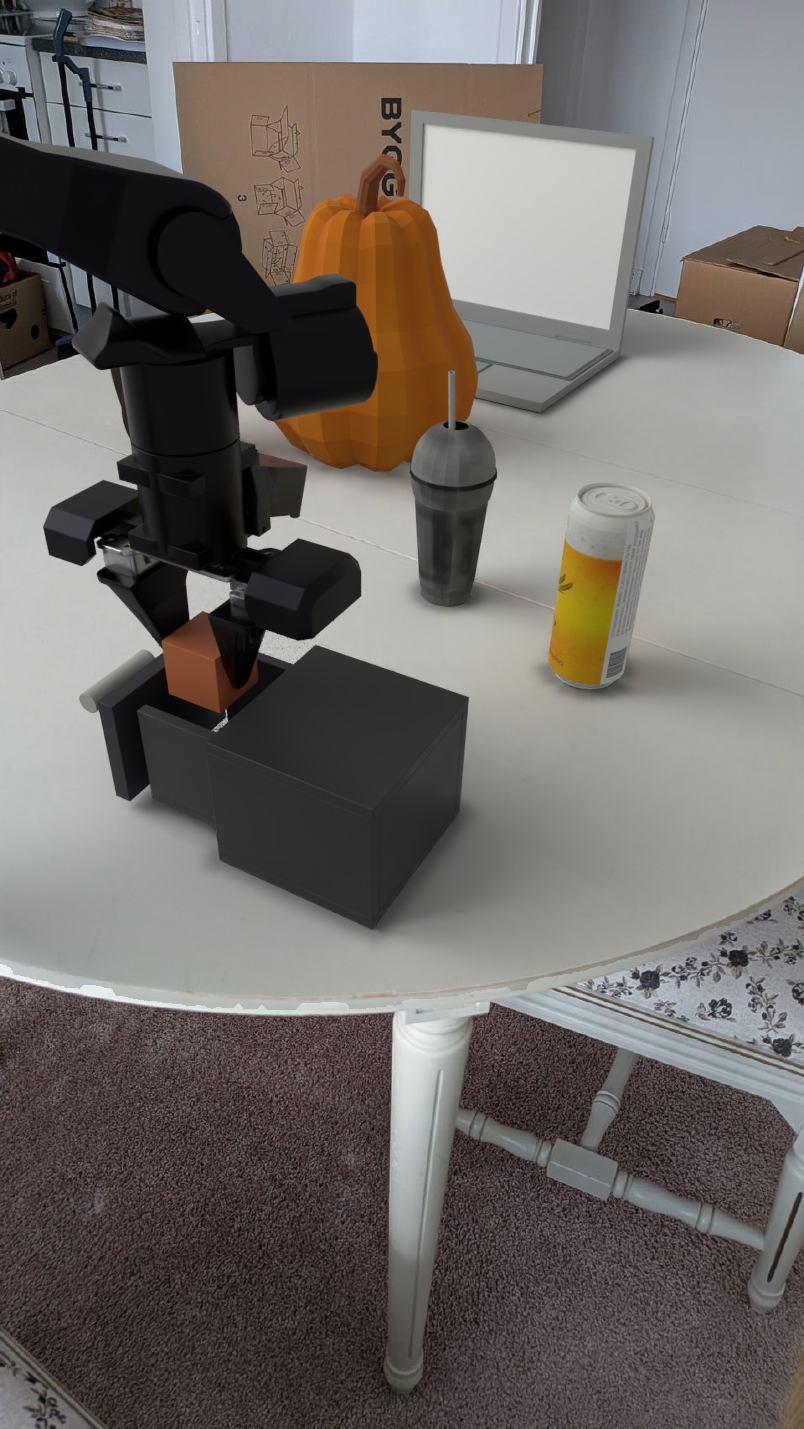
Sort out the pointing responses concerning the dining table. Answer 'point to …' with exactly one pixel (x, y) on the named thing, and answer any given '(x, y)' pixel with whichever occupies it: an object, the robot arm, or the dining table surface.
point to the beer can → (600, 583)
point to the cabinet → (338, 781)
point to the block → (200, 667)
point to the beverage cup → (451, 504)
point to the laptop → (533, 244)
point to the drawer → (163, 732)
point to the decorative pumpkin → (387, 325)
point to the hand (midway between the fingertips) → (212, 674)
